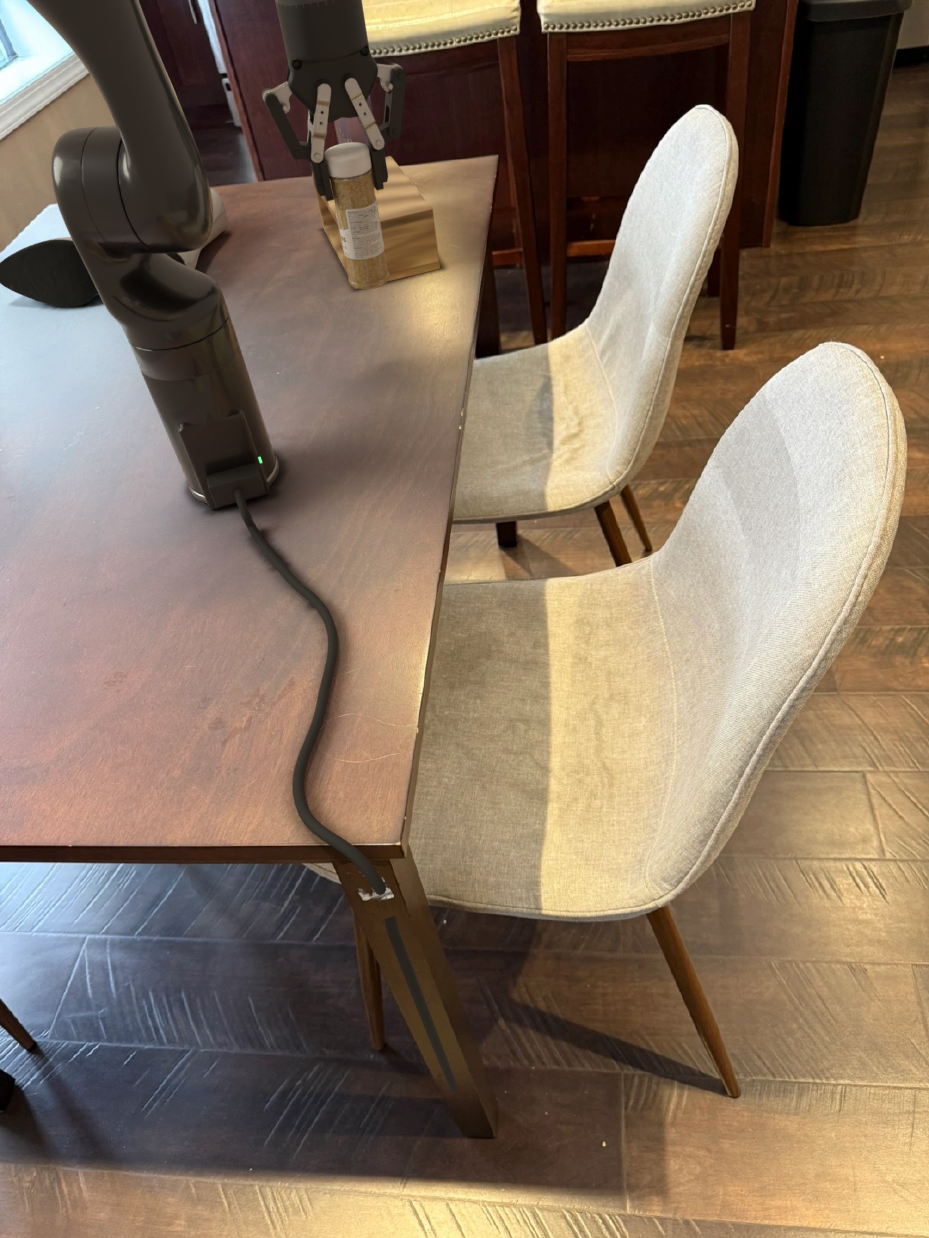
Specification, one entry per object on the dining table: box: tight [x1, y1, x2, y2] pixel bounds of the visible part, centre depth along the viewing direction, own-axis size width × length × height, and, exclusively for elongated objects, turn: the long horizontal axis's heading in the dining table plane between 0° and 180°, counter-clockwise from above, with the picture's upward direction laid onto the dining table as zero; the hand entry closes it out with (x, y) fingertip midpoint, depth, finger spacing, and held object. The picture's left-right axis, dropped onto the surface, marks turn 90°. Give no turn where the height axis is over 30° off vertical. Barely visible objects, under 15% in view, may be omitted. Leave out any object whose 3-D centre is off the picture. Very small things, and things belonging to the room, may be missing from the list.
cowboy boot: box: [0, 187, 229, 309], centre depth 126 cm, size 10×28×25 cm
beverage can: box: [333, 94, 374, 146], centre depth 133 cm, size 6×6×15 cm
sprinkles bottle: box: [323, 142, 390, 290], centre depth 89 cm, size 5×5×14 cm
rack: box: [311, 155, 441, 290], centre depth 122 cm, size 22×12×8 cm, turn 18°
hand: (353, 192), depth 88 cm, fingers closed on sprinkles bottle, 4 cm apart
